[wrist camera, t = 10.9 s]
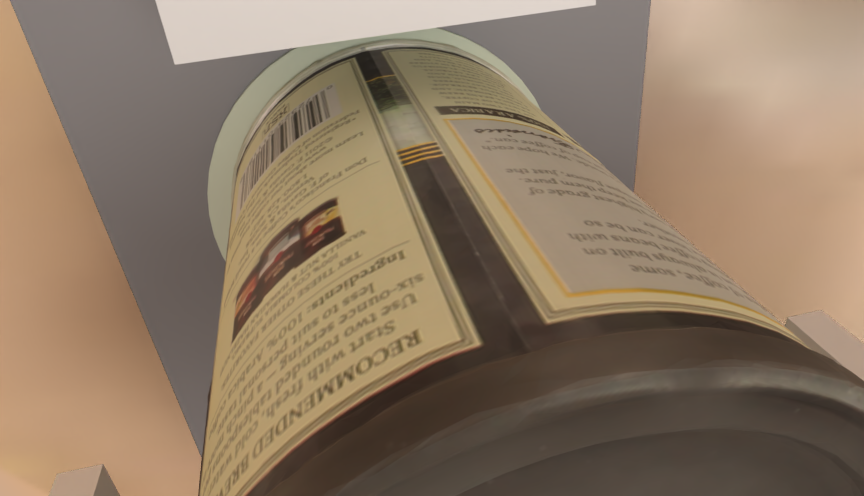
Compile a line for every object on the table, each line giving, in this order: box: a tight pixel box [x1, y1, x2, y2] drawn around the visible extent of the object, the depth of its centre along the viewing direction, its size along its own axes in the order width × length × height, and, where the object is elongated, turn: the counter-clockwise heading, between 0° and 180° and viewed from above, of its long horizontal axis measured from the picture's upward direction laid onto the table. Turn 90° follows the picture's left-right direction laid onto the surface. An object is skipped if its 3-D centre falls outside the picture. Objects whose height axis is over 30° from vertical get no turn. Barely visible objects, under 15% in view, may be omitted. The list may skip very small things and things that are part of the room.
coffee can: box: [198, 39, 864, 496], centre depth 14 cm, size 10×10×14 cm
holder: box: [10, 0, 651, 457], centre depth 18 cm, size 20×17×7 cm
